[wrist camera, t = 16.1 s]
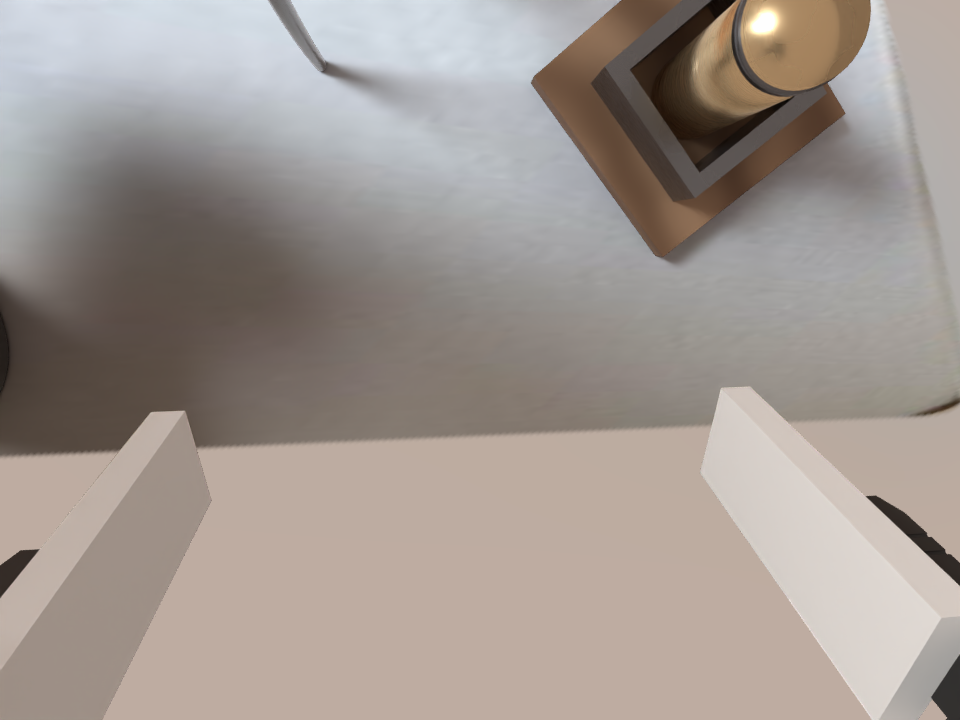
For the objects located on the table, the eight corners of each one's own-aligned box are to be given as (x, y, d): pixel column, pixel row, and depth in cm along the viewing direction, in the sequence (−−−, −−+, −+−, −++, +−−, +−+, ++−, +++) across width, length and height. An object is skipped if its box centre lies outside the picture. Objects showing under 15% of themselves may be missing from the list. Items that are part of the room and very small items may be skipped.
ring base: (655, 255, 37) (663, 256, 36) (530, 83, 34) (533, 76, 33) (829, 118, 35) (845, 113, 34) (712, -76, 33) (724, -90, 31)
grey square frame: (672, 201, 35) (694, 198, 32) (590, 83, 33) (604, 66, 30) (791, 107, 34) (827, 93, 30) (712, -21, 32) (740, -51, 29)
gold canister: (679, 159, 34) (786, 117, 23) (632, 89, 33) (719, 8, 22) (749, 104, 34) (896, 32, 22) (703, 31, 33) (831, -85, 21)
